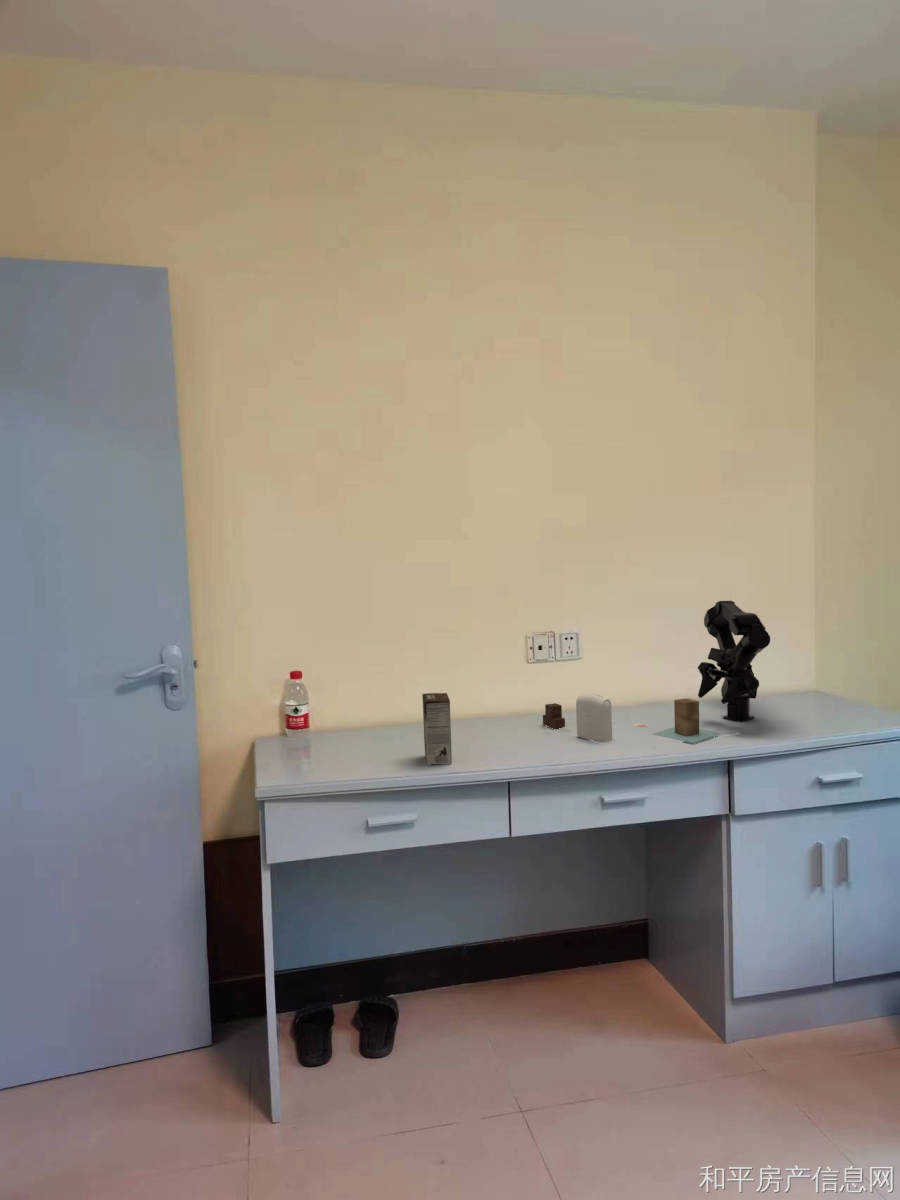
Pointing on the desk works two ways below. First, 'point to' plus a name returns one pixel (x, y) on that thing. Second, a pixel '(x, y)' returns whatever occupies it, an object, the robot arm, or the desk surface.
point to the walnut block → (686, 717)
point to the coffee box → (437, 728)
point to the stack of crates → (553, 716)
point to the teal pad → (692, 739)
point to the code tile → (639, 725)
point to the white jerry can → (594, 717)
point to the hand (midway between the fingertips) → (710, 699)
